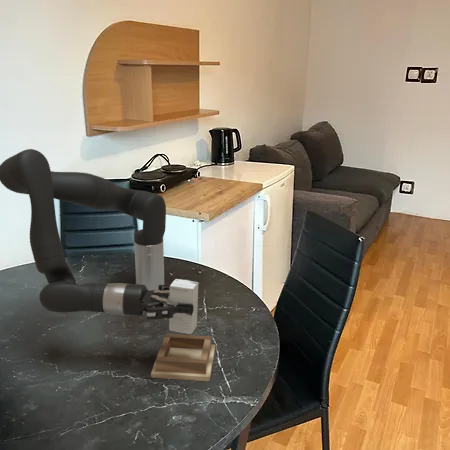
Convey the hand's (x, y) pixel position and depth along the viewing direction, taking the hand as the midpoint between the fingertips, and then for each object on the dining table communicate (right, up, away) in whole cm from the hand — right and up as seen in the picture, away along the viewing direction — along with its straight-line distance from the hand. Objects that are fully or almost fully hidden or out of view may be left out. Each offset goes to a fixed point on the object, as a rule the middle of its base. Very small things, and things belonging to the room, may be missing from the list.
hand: (194, 303), depth 115 cm
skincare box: (-3, -7, +2) cm, 8 cm away
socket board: (-3, -16, +5) cm, 17 cm away
